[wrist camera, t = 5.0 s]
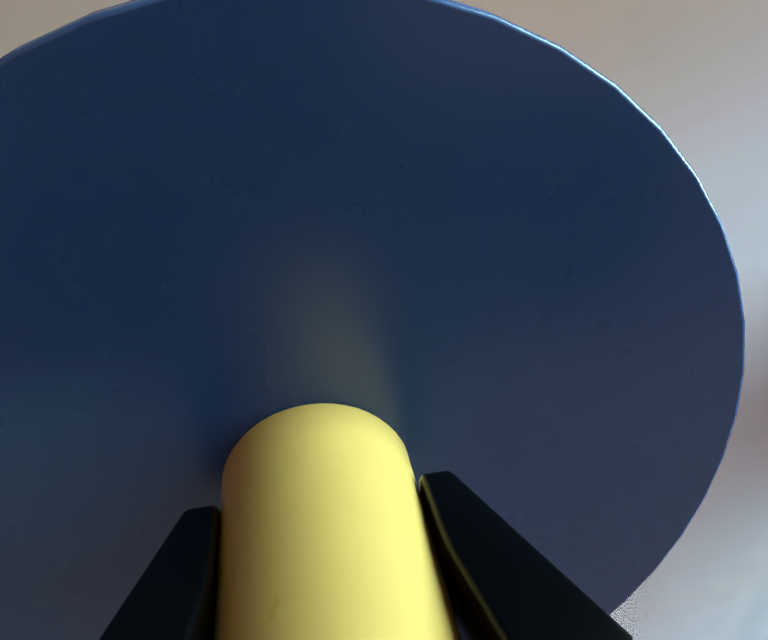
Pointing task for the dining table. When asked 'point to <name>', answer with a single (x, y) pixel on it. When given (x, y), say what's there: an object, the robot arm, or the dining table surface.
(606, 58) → the dining table surface
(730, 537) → the dining table surface
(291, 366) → the pot lid
